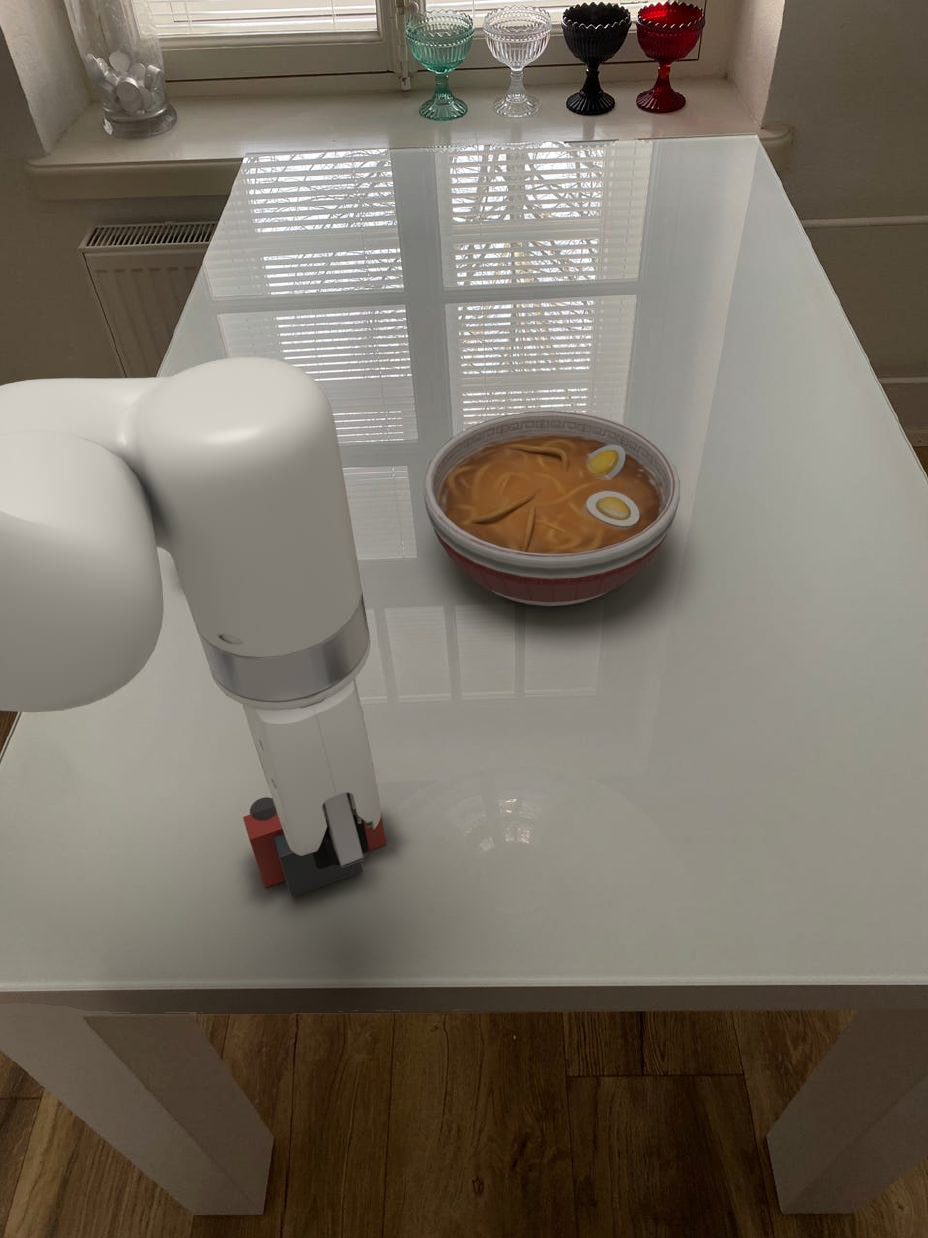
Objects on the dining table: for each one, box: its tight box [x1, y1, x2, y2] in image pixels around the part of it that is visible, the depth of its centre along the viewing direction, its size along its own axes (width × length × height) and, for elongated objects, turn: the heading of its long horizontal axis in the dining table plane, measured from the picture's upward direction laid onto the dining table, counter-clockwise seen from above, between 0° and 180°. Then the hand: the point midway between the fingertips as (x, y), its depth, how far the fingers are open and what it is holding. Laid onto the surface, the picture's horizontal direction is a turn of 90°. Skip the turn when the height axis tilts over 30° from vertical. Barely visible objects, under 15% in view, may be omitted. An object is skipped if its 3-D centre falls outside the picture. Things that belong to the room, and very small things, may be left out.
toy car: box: [242, 796, 387, 898], centre depth 67 cm, size 9×5×6 cm, turn 112°
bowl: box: [422, 410, 681, 607], centre depth 89 cm, size 23×23×10 cm
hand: (339, 850), depth 57 cm, fingers closed
